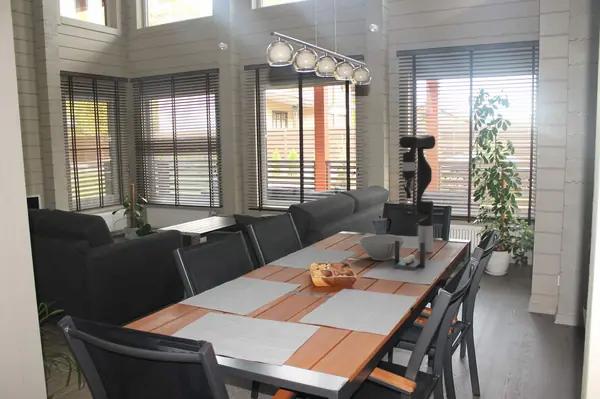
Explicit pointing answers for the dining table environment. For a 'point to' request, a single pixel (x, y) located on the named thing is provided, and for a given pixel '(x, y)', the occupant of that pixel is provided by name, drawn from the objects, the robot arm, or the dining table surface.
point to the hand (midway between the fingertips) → (408, 198)
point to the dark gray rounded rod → (396, 252)
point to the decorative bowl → (380, 246)
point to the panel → (408, 265)
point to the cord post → (422, 255)
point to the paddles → (409, 258)
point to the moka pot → (381, 225)
